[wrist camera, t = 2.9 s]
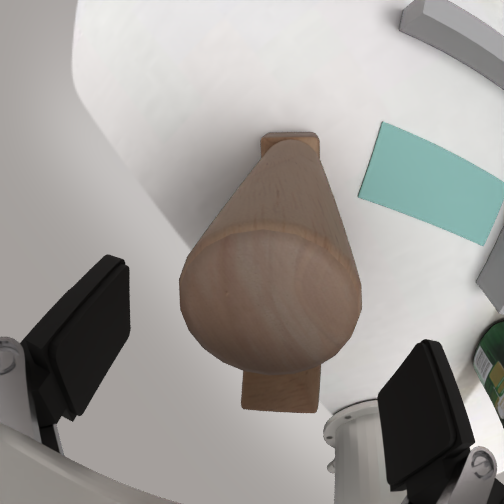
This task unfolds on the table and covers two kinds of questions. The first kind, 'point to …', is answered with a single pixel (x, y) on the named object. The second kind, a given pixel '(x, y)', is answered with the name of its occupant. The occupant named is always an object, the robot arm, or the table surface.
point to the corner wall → (481, 60)
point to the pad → (432, 185)
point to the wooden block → (275, 278)
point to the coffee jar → (492, 366)
